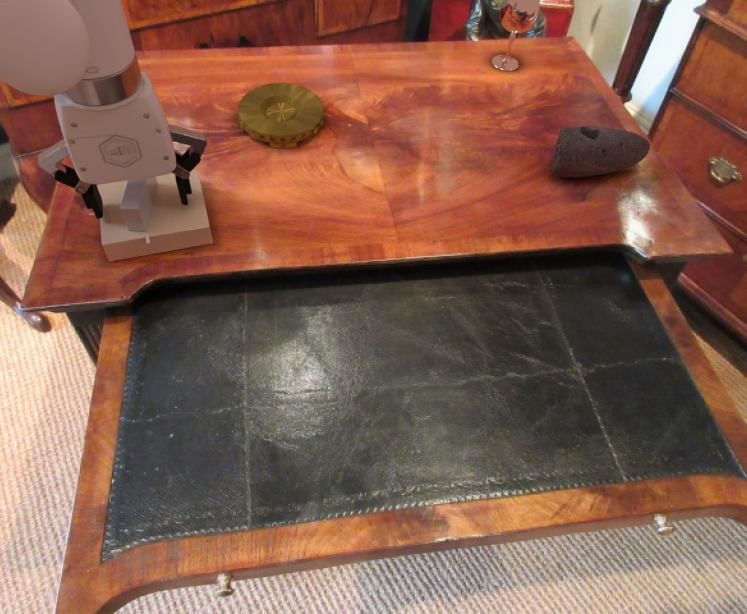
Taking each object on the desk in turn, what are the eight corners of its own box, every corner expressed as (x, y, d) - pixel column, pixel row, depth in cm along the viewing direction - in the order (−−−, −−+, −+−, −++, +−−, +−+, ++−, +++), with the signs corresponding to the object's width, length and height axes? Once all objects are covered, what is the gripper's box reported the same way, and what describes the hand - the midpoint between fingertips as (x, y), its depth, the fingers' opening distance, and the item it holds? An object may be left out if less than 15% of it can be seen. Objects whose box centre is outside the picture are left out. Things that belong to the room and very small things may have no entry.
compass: (340, 118, 88) (340, 106, 87) (286, 160, 82) (285, 147, 81) (278, 85, 92) (277, 72, 90) (222, 123, 86) (220, 110, 84)
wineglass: (513, 51, 102) (533, -22, 92) (528, 70, 99) (551, -2, 89) (482, 55, 101) (499, -18, 91) (496, 75, 97) (516, 1, 88)
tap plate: (99, 270, 69) (91, 253, 67) (94, 197, 76) (86, 178, 73) (214, 250, 72) (210, 232, 70) (200, 181, 79) (196, 162, 76)
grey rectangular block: (145, 231, 69) (137, 207, 66) (128, 230, 69) (118, 207, 66) (158, 183, 74) (150, 158, 71) (141, 182, 74) (133, 158, 71)
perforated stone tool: (632, 156, 88) (653, 116, 82) (646, 181, 85) (669, 141, 79) (534, 160, 86) (549, 120, 80) (545, 186, 83) (562, 146, 77)
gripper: (-3, 109, 53) (64, 239, 67) (196, 87, 57) (221, 214, 71) (1, 61, 57) (64, 192, 71) (187, 43, 61) (212, 171, 75)
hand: (142, 203), depth 71 cm, fingers open, 9 cm apart
